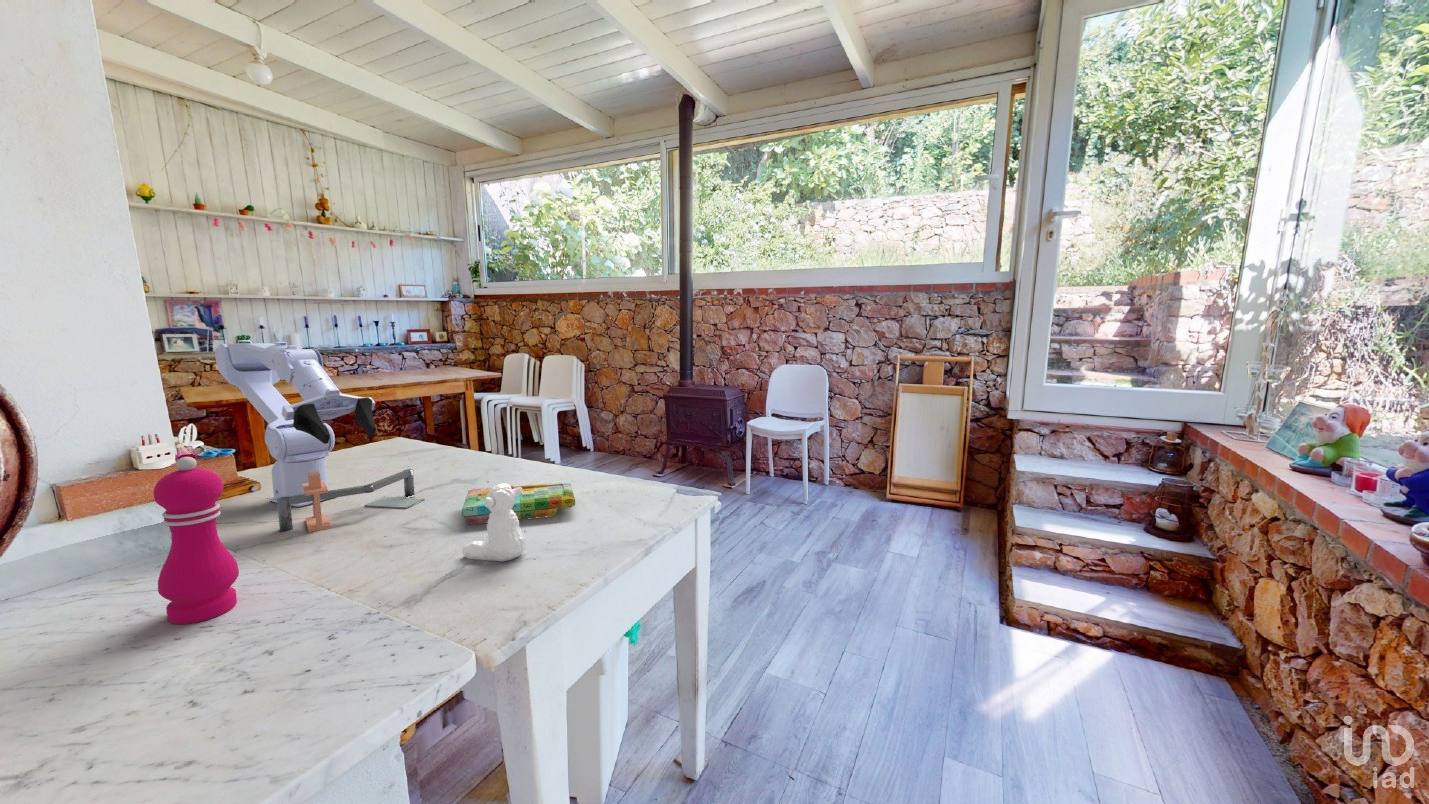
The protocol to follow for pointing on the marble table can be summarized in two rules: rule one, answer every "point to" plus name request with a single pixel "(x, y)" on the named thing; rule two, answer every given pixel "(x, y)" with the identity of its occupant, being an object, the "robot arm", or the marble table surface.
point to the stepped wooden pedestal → (316, 502)
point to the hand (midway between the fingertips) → (350, 435)
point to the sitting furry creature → (499, 528)
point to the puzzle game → (522, 502)
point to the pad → (393, 502)
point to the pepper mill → (194, 546)
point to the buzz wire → (340, 495)
